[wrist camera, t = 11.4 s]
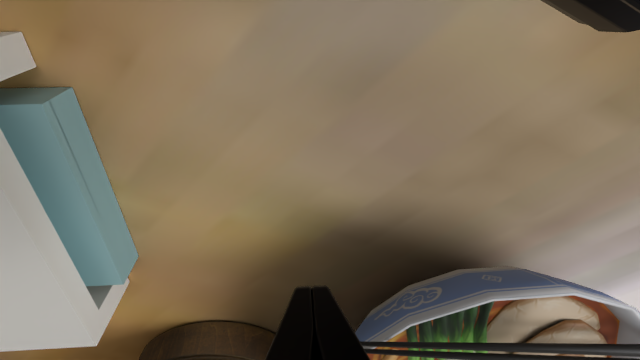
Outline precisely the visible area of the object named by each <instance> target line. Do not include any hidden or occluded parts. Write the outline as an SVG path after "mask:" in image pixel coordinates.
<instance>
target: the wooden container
mask: <svg viewBox="0 0 640 360" xmlns="http://www.w3.org/2000/svg"><path fill="white" fill-rule="evenodd" d="M275 335H276V334H274V333H272V332H270V331H268V330H265V329H262V328H259V327H256V326H252V325H248V324H242V323H235V322H220V321H211V322H200V323H193V324H188V325H184V326H180V327H177V328H174V329H171V330H169V331H167V332H165V333H163V334H161V335H159V336H157V337H156V338H154V339H153V340H152V341H151V342H149V343H148V345H147V346H146V347H145V348H144V350H143V352H142V354H141V356H140V358H139V360H265V358H266V356H267V353H268V351H269V349H270V346H271V344H272V342H273V339H274V337H275Z"/></svg>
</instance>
